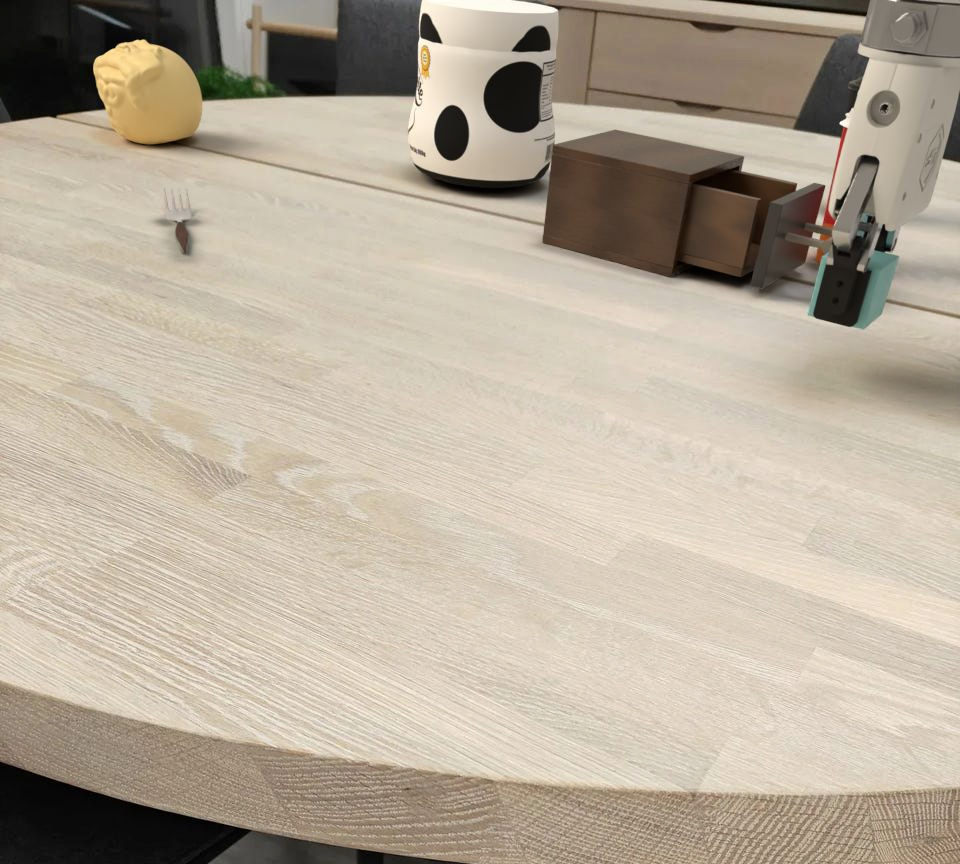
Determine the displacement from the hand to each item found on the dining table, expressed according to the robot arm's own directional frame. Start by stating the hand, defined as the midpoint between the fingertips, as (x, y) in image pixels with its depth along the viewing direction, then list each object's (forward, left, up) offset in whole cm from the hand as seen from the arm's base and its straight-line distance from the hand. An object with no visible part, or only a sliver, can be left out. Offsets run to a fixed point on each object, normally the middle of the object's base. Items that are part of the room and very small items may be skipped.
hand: (846, 310), depth 75 cm
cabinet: (+14, -30, -5) cm, 33 cm away
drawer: (+4, -24, -4) cm, 24 cm away
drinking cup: (-13, -54, -5) cm, 56 cm away
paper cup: (-8, -31, -5) cm, 33 cm away
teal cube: (0, 0, 0) cm, 0 cm away
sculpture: (+73, -56, -5) cm, 92 cm away
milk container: (+32, -52, -5) cm, 61 cm away
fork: (+58, -20, -5) cm, 62 cm away
